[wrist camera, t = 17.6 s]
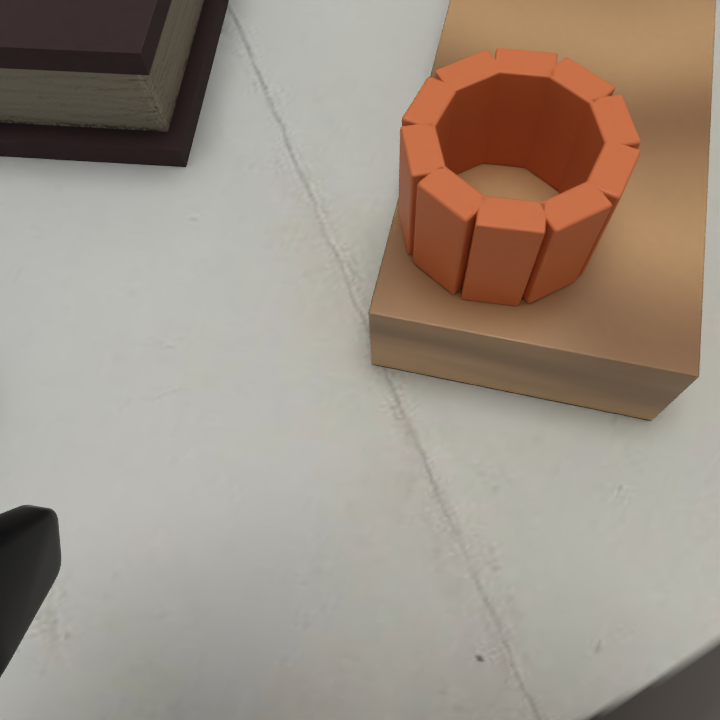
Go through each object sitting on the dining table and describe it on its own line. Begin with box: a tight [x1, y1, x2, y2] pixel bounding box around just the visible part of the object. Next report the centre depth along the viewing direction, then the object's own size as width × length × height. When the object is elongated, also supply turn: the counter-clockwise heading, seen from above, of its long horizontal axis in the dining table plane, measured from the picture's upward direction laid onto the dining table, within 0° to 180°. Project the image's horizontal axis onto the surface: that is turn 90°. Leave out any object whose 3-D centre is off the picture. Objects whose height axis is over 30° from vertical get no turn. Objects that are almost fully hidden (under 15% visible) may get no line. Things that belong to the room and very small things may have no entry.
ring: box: [399, 48, 641, 306], centre depth 21 cm, size 6×7×4 cm
